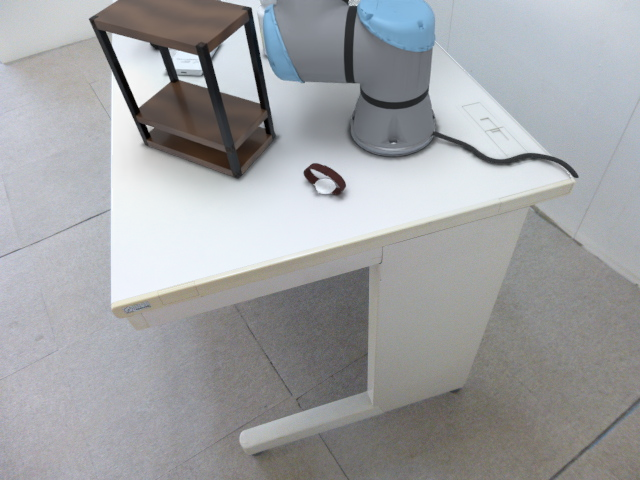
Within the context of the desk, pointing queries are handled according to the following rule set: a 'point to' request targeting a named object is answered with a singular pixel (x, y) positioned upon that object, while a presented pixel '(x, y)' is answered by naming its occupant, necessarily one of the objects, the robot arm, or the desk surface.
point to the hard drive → (188, 63)
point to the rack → (185, 98)
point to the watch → (325, 184)
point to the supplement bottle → (265, 1)
